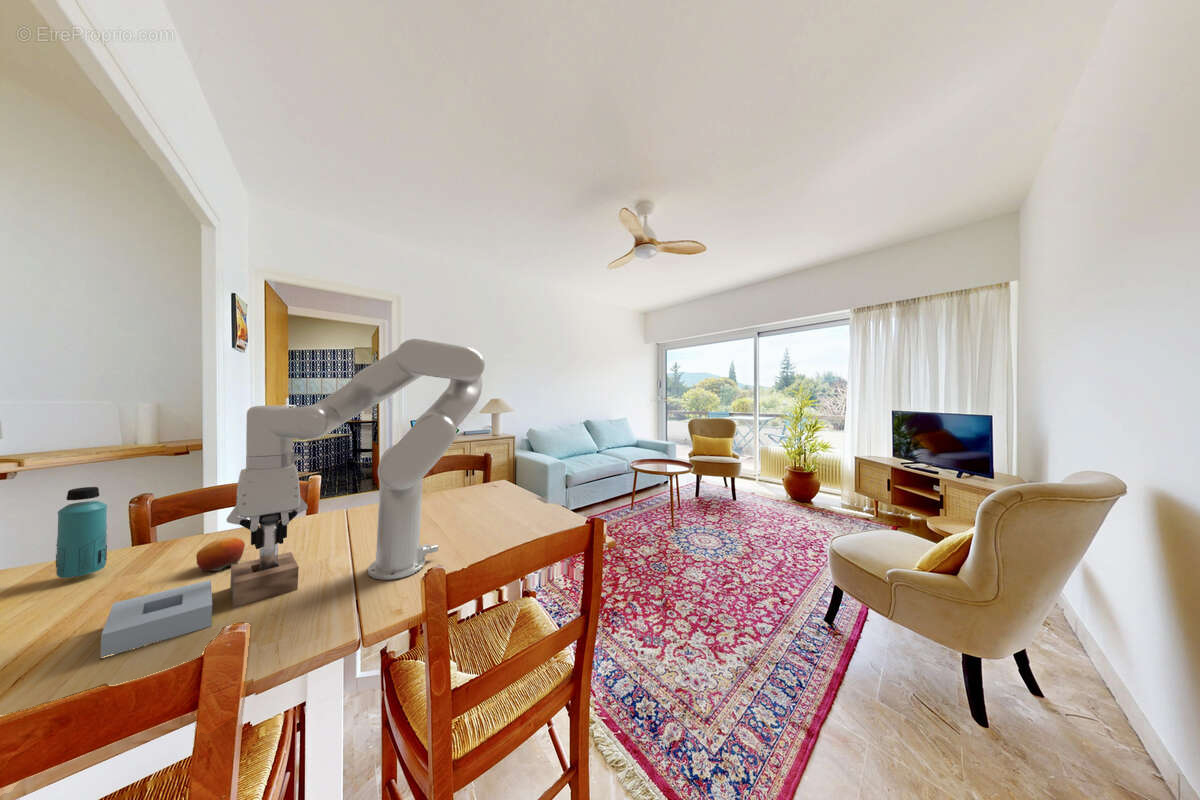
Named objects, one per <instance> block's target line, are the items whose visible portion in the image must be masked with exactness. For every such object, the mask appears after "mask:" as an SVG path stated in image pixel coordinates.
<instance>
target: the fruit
mask: <svg viewBox="0 0 1200 800" xmlns="http://www.w3.org/2000/svg"><path fill="white" fill-rule="evenodd" d="M245 544H246V543H245V541H244V540H242V538H238V537H236V536H235V537H232V536H231V537H229V536H227V537H223V538H220V539H216V540H215V541H212V542H210V543H208V544H205V545H204V546H203V547H202V548H201V549H200V550H198V551H197V553H196V565H197V566H198V568H199V569H200V570H202V571H205V572H214V571H215V572H218V571H219V572H221V571H222V570H223V569H224V568H227V567H229V566H231V565H235V564H239V563H240V560H241V559H242V556H243V554H244V550H245Z"/></svg>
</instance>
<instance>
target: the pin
mask: <svg viewBox="0 0 1200 800" xmlns="http://www.w3.org/2000/svg"><path fill="white" fill-rule="evenodd" d="M280 520H281V513H274V514H268V515H263V516H260V517H259V524H258V525H259V527H260V529H261V548H260V549H259V559H260V560H259V571H262V570H266V569H271V568H275V567H278V555H279V543H278V526H279V521H280Z"/></svg>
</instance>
